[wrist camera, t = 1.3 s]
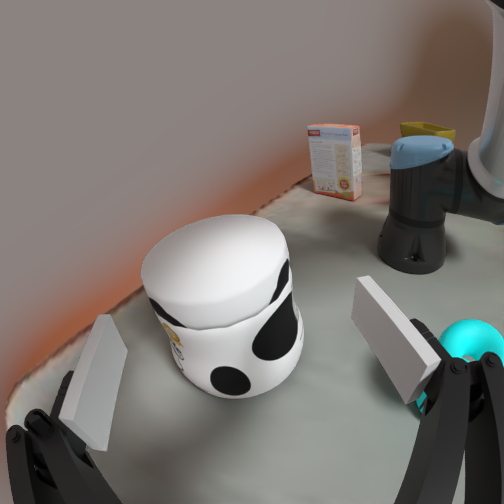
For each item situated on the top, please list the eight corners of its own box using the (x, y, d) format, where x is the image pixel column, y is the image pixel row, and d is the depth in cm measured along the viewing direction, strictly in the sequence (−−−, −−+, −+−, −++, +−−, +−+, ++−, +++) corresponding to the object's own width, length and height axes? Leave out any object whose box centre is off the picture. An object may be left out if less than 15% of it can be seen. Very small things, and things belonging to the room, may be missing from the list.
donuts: (425, 326, 23) (488, 305, 22) (403, 375, 29) (460, 355, 28) (461, 406, 15) (526, 368, 14) (423, 440, 20) (485, 411, 19)
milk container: (164, 358, 38) (109, 264, 28) (244, 297, 47) (220, 201, 38) (242, 433, 27) (189, 347, 17) (329, 342, 36) (331, 230, 26)
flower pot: (454, 167, 88) (456, 129, 79) (435, 174, 83) (436, 131, 74) (421, 156, 103) (421, 121, 94) (399, 161, 98) (398, 123, 89)
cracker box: (362, 195, 74) (360, 124, 63) (353, 202, 71) (350, 127, 60) (323, 186, 84) (317, 122, 73) (313, 192, 81) (306, 125, 69)
